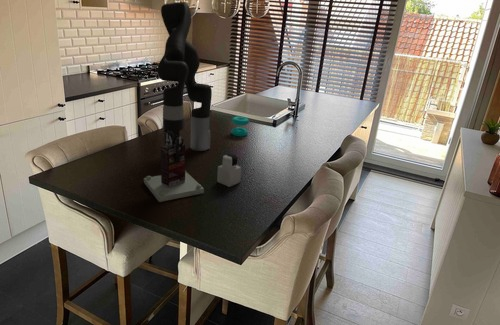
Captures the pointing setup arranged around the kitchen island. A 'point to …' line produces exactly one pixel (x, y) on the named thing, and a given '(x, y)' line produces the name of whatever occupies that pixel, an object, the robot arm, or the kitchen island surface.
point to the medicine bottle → (229, 171)
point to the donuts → (239, 130)
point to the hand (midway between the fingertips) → (173, 158)
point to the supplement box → (172, 167)
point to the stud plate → (173, 188)
